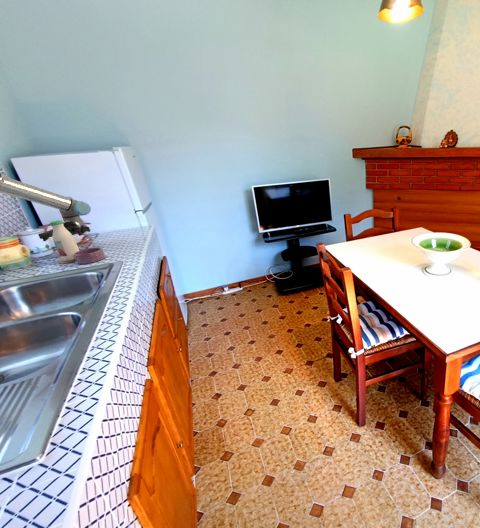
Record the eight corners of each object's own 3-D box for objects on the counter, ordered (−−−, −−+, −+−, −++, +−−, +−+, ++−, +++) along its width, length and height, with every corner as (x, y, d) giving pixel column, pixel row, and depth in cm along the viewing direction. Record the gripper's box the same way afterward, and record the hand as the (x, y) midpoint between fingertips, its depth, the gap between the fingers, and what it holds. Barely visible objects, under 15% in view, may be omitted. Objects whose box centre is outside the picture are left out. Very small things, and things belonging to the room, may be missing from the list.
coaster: (62, 265, 148) (61, 264, 148) (55, 261, 154) (55, 260, 154) (89, 258, 156) (88, 257, 156) (82, 255, 162) (81, 254, 162)
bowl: (81, 266, 145) (77, 256, 143) (73, 262, 152) (69, 253, 150) (109, 258, 154) (105, 249, 152) (101, 255, 160) (97, 246, 158)
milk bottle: (81, 255, 160) (66, 218, 152) (82, 258, 155) (66, 220, 147) (62, 259, 155) (45, 221, 148) (62, 262, 150) (44, 224, 142)
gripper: (101, 229, 174) (95, 238, 157) (43, 238, 162) (31, 248, 145) (96, 217, 171) (90, 224, 154) (37, 225, 159) (24, 233, 142)
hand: (61, 235), depth 149 cm, fingers open, 13 cm apart
